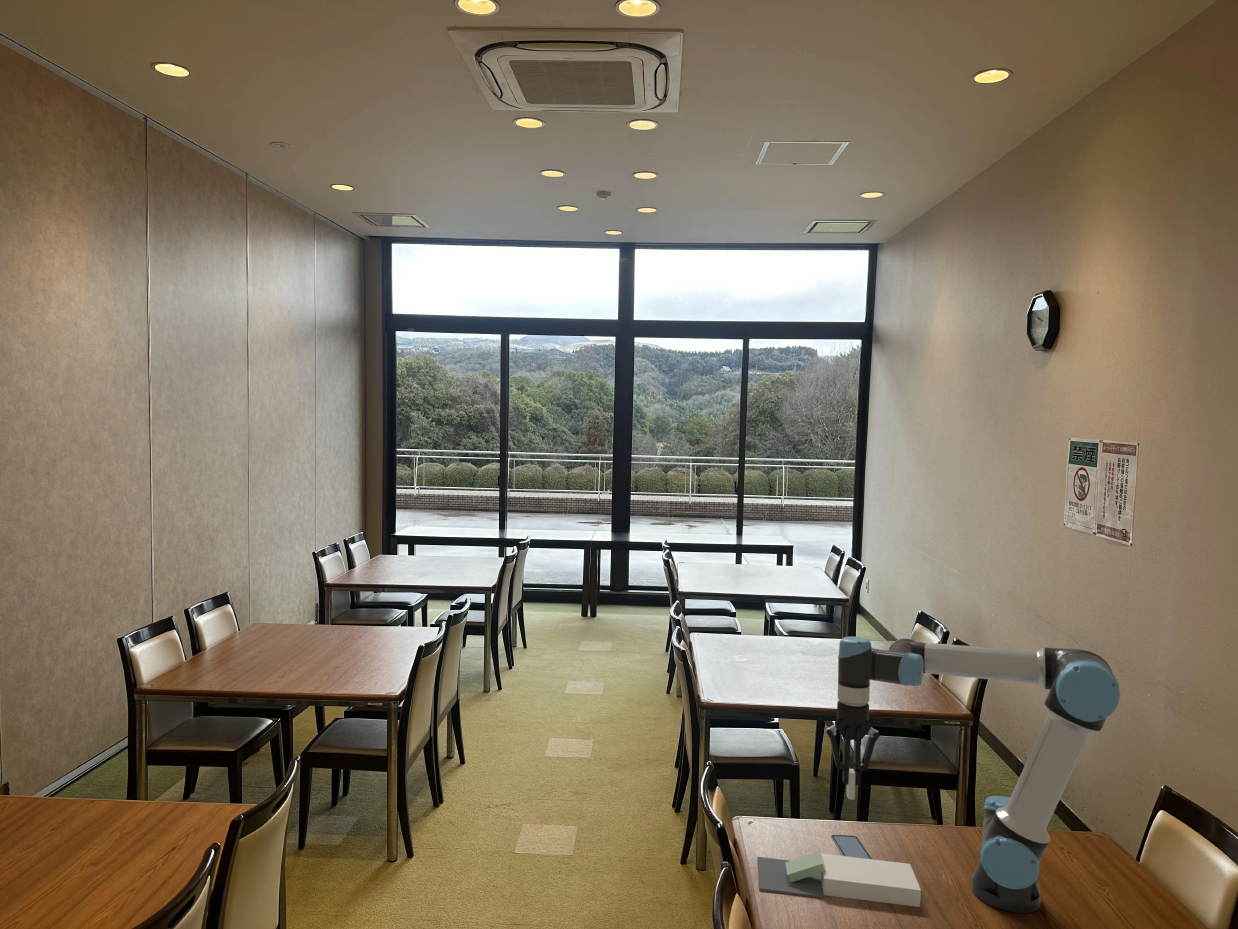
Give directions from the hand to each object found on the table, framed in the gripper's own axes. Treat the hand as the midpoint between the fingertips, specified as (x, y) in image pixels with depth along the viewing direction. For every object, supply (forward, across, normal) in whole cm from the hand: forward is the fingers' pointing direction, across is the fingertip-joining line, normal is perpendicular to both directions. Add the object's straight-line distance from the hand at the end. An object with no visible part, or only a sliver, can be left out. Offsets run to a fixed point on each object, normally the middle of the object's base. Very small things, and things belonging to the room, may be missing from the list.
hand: (850, 797), depth 200 cm
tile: (+18, +10, +2) cm, 21 cm away
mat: (+20, +14, +2) cm, 25 cm away
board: (+21, -4, +2) cm, 21 cm away
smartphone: (+21, -4, -16) cm, 27 cm away
